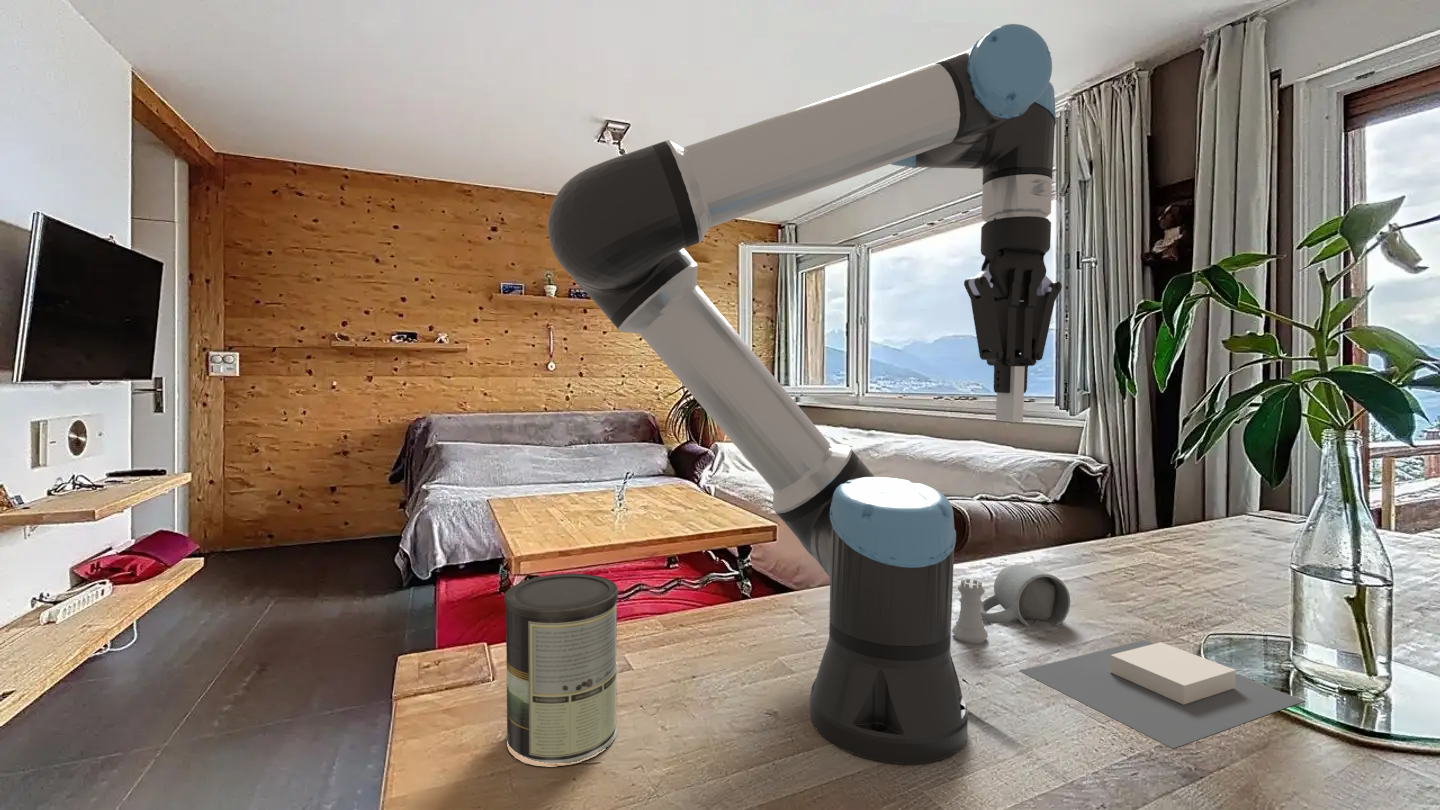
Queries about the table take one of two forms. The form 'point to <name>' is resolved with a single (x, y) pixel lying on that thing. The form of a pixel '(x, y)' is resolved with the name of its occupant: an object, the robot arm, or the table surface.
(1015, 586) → the ceramic mug
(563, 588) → the coffee can
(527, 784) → the table surface
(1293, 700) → the mat
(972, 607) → the rook chess piece
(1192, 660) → the tile
